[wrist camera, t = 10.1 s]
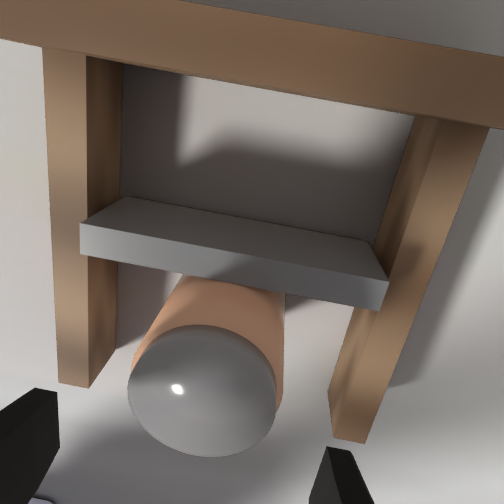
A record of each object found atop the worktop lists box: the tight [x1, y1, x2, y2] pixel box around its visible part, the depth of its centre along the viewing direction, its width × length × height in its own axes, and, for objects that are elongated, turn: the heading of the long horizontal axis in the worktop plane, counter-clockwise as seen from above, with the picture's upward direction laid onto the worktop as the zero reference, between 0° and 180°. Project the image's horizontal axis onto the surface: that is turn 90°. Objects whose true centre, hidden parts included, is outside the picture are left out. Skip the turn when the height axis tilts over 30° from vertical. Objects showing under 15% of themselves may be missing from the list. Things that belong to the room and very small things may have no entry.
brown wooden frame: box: [0, 0, 504, 444], centre depth 15 cm, size 16×15×6 cm
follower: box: [80, 196, 389, 311], centre depth 15 cm, size 1×11×4 cm, turn 81°
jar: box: [128, 274, 285, 457], centre depth 15 cm, size 5×5×8 cm
